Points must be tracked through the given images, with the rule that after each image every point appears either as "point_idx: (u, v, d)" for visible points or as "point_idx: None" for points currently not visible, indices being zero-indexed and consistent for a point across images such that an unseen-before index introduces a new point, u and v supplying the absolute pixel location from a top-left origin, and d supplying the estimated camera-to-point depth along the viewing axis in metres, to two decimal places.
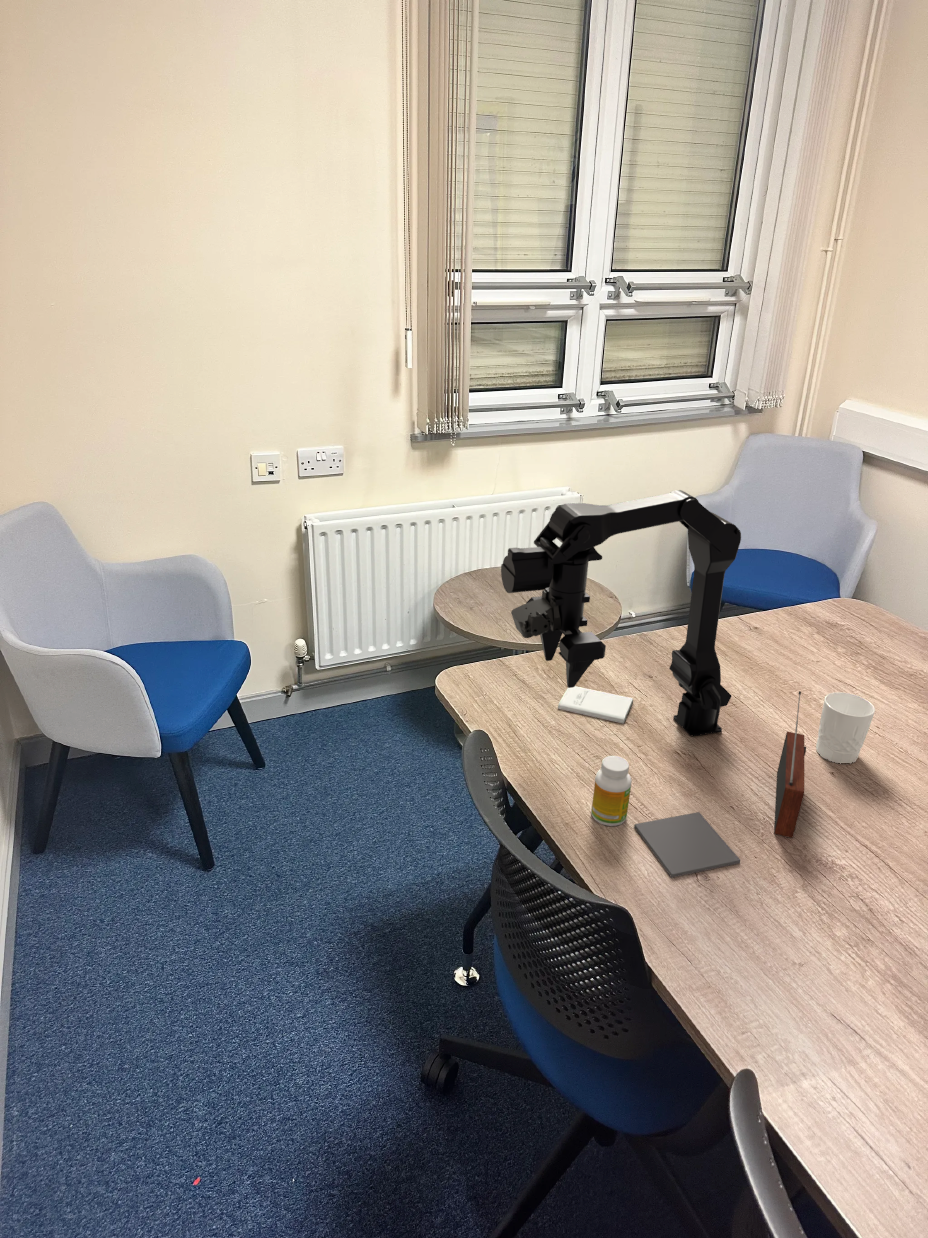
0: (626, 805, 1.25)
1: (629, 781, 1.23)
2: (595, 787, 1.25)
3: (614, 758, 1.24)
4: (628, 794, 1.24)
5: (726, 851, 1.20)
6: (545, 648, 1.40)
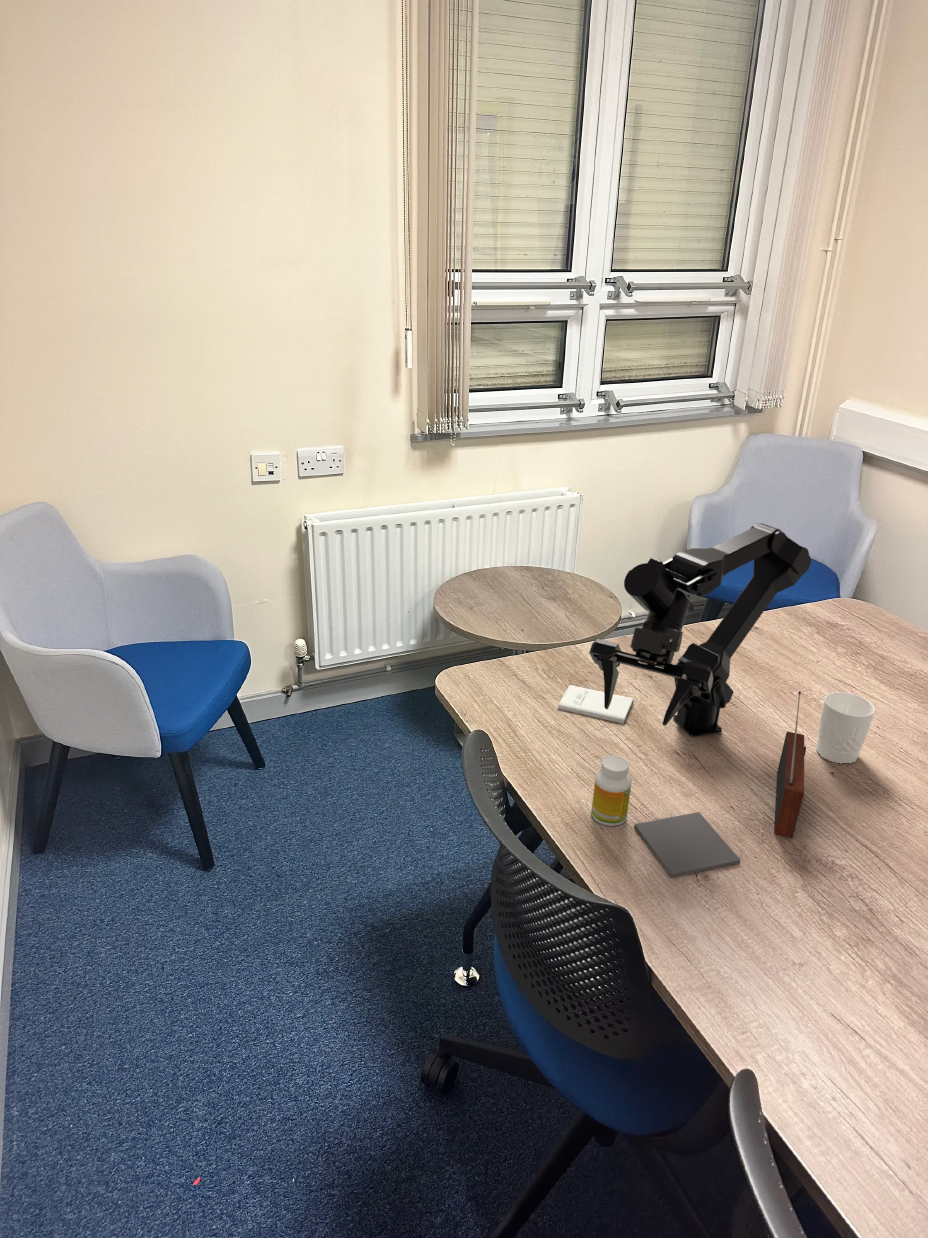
0: (626, 805, 1.25)
1: (629, 781, 1.23)
2: (595, 787, 1.25)
3: (614, 758, 1.24)
4: (628, 794, 1.24)
5: (726, 851, 1.20)
6: (610, 692, 1.30)
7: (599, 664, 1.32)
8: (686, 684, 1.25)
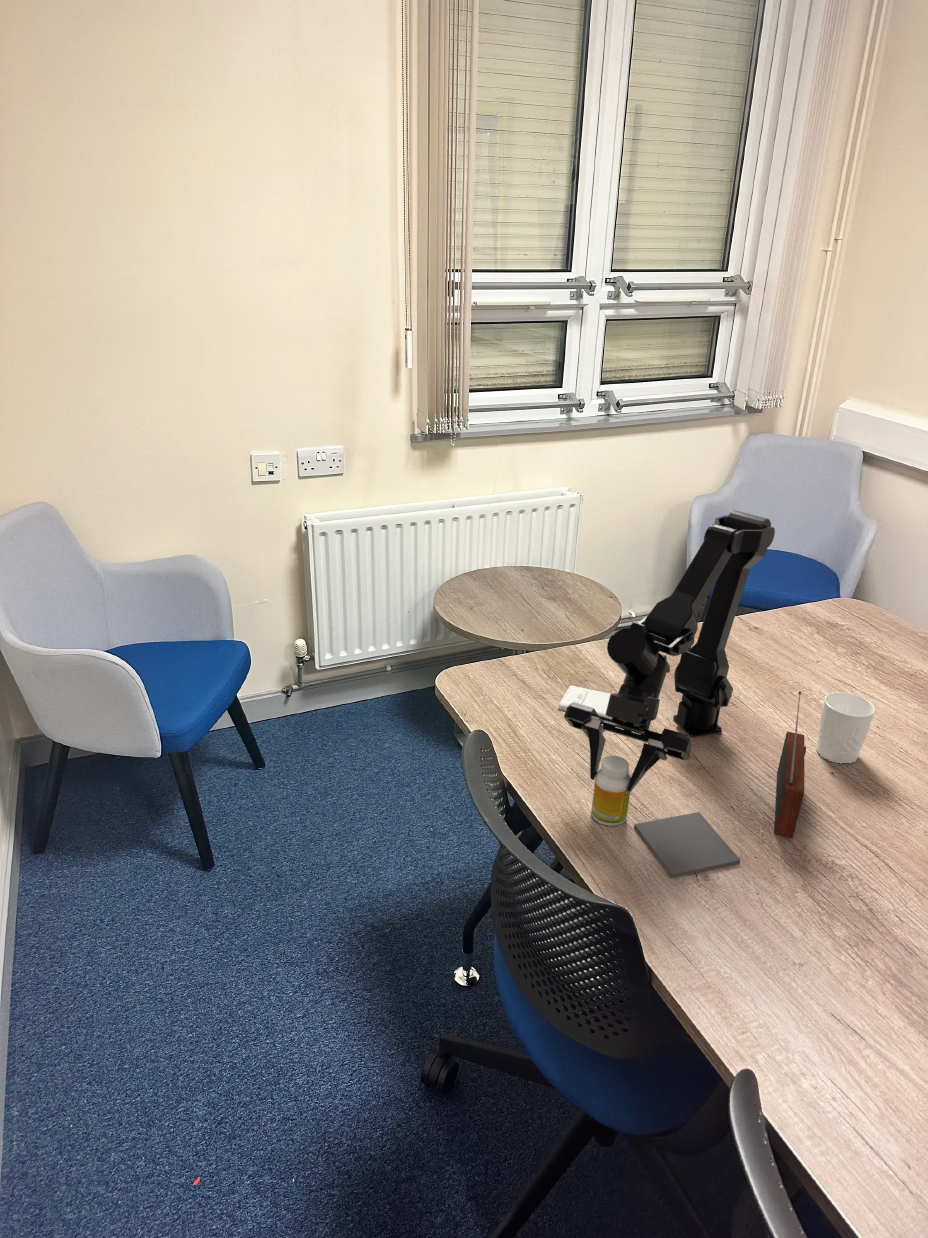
0: (626, 805, 1.25)
1: (629, 781, 1.23)
2: (595, 787, 1.25)
3: (614, 758, 1.24)
4: (628, 794, 1.24)
5: (726, 851, 1.20)
6: (596, 763, 1.25)
7: (585, 732, 1.27)
8: (651, 750, 1.21)
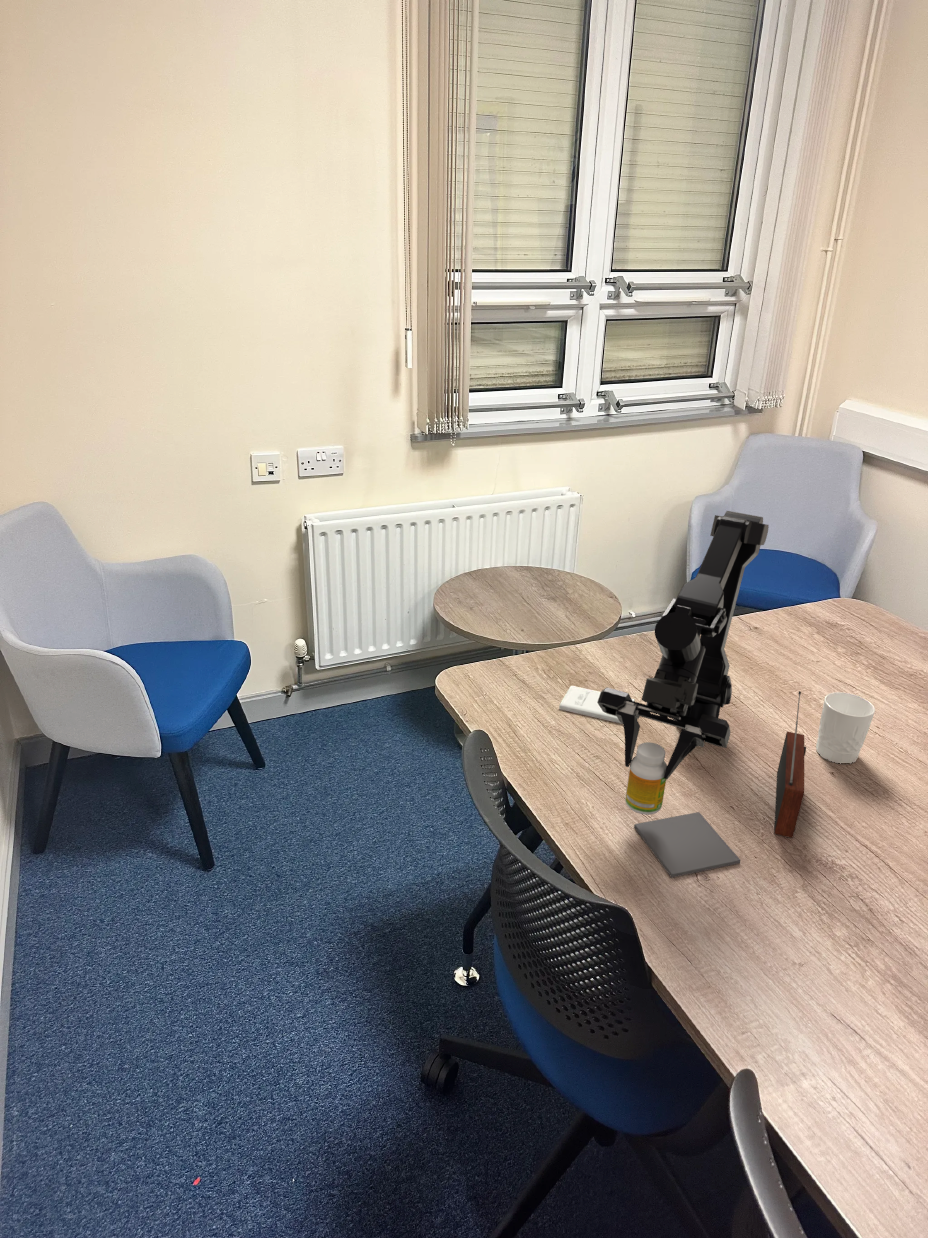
0: (662, 793, 1.21)
1: (665, 768, 1.19)
2: (630, 775, 1.21)
3: (650, 745, 1.20)
4: (664, 782, 1.20)
5: (726, 851, 1.20)
6: (631, 750, 1.21)
7: (619, 718, 1.23)
8: (689, 736, 1.17)
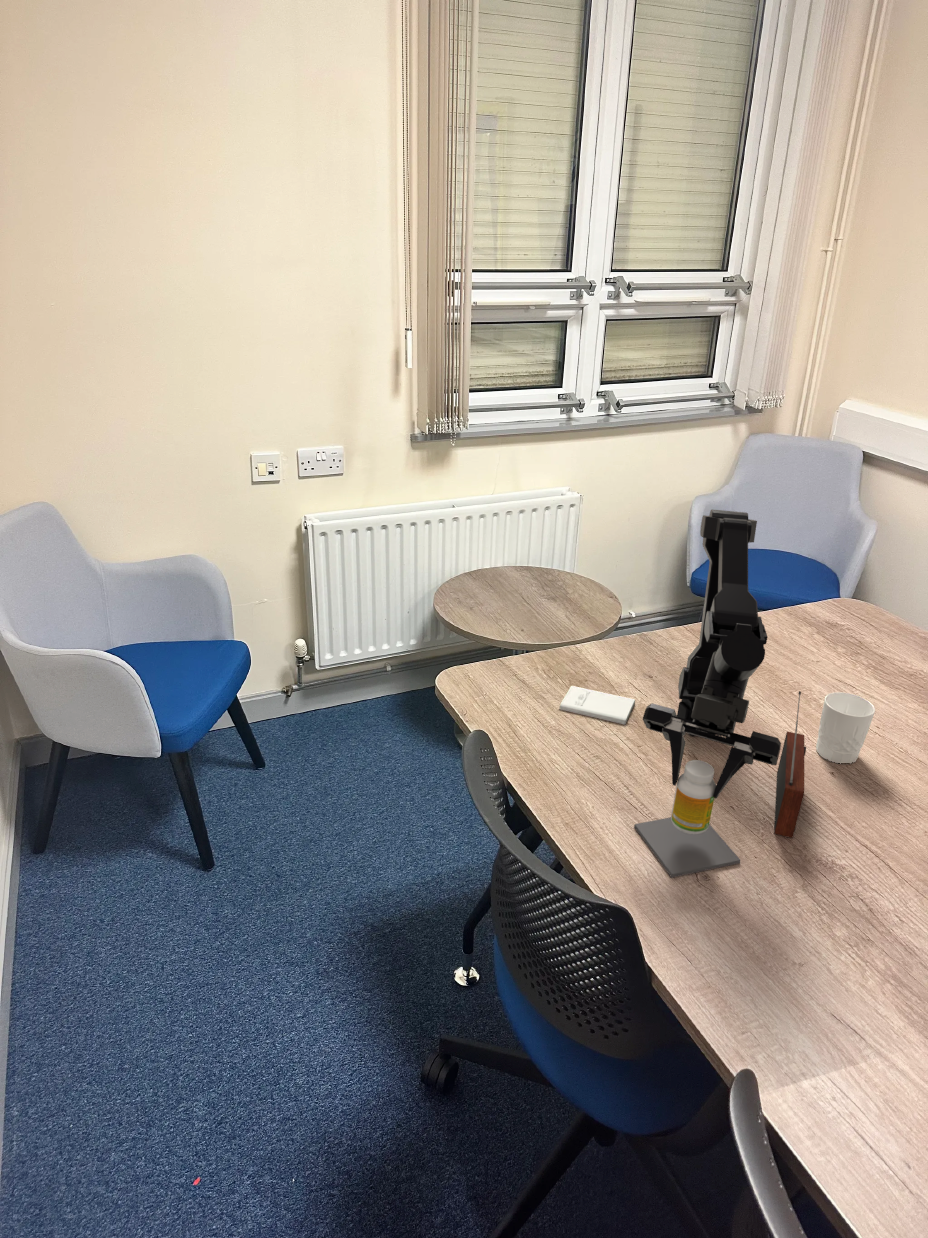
0: (710, 812, 1.18)
1: (714, 787, 1.16)
2: (677, 793, 1.18)
3: (698, 763, 1.17)
4: (713, 801, 1.17)
5: (726, 851, 1.20)
6: (678, 767, 1.18)
7: (665, 734, 1.20)
8: (740, 754, 1.14)
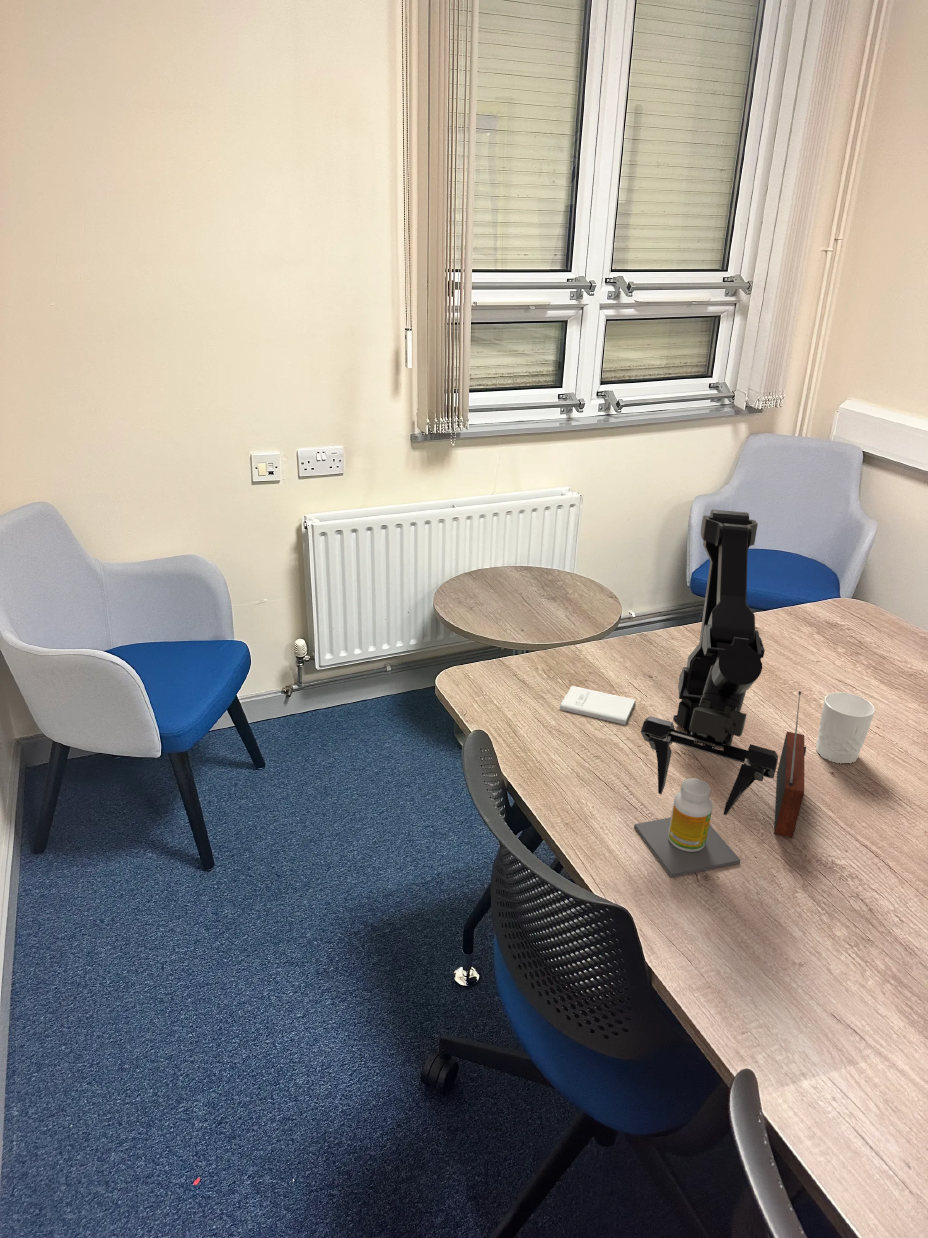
0: (707, 830, 1.19)
1: (711, 805, 1.18)
2: (674, 811, 1.19)
3: (694, 781, 1.19)
4: (709, 819, 1.18)
5: (726, 851, 1.20)
6: (664, 776, 1.19)
7: (651, 744, 1.22)
8: (750, 771, 1.14)
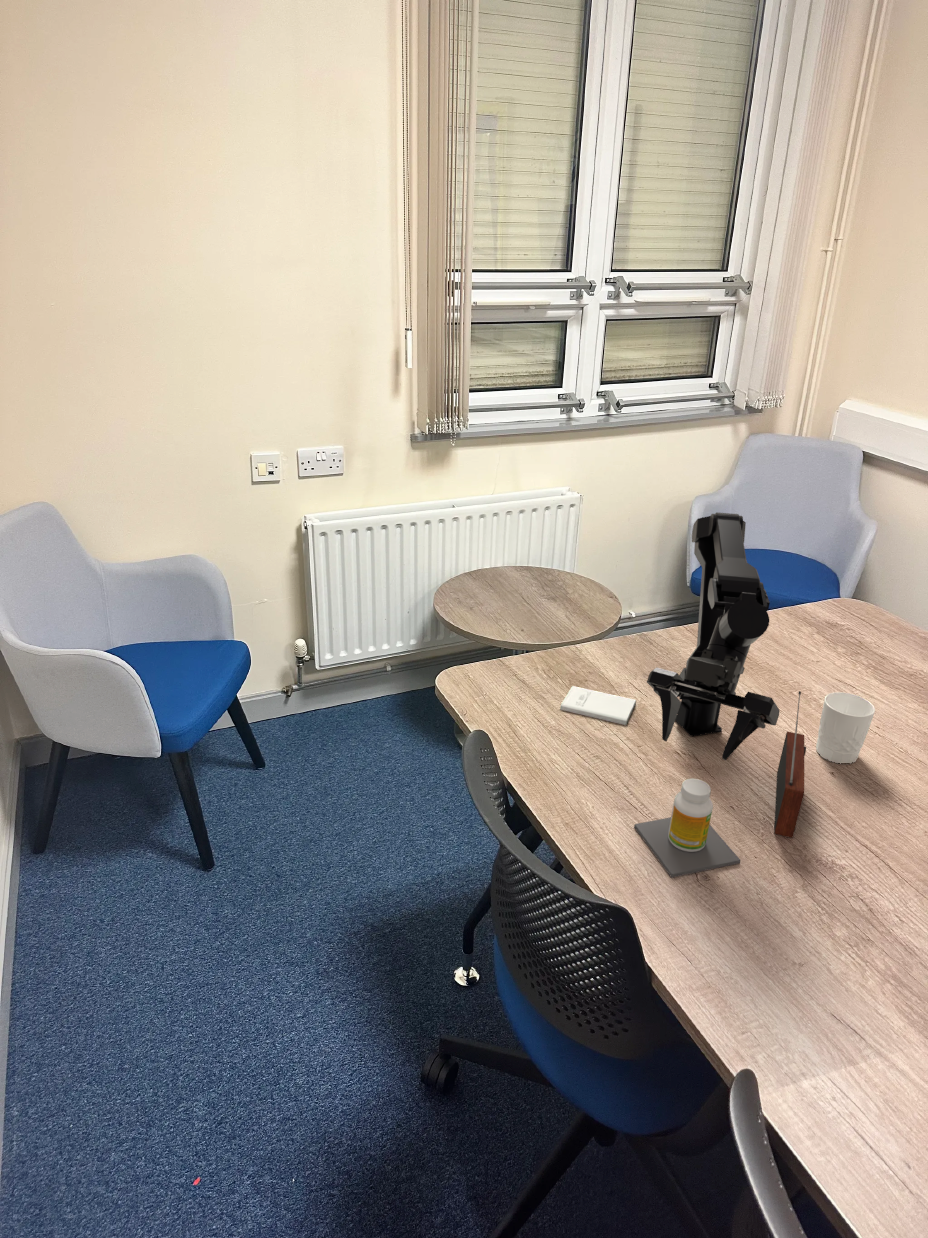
0: (707, 830, 1.19)
1: (711, 805, 1.18)
2: (674, 811, 1.19)
3: (694, 782, 1.19)
4: (709, 819, 1.18)
5: (726, 851, 1.20)
6: (668, 724, 1.25)
7: (658, 694, 1.28)
8: (746, 717, 1.18)
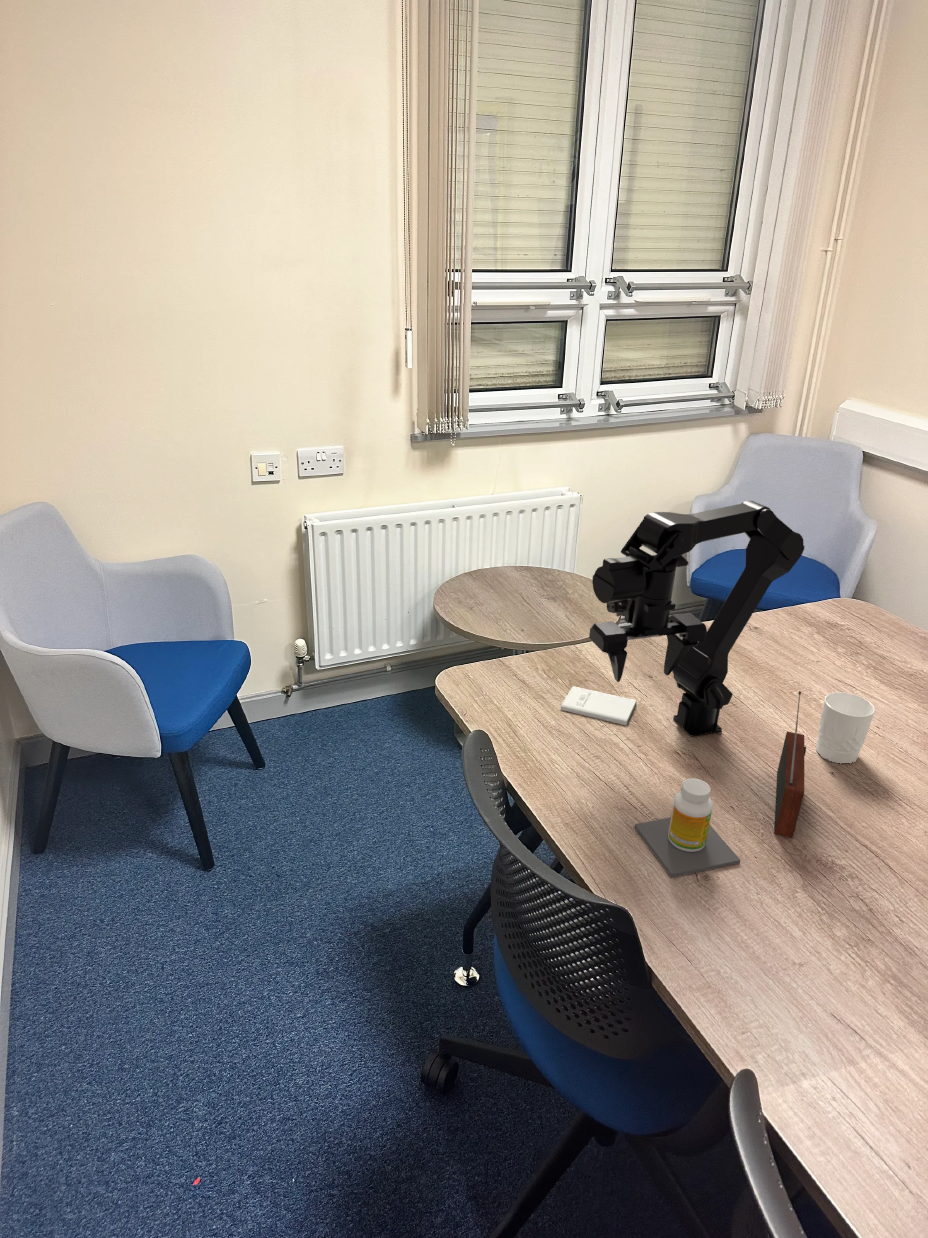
0: (707, 830, 1.19)
1: (711, 805, 1.18)
2: (674, 811, 1.19)
3: (694, 781, 1.19)
4: (709, 819, 1.18)
5: (726, 851, 1.20)
6: (665, 659, 1.41)
7: None
8: None
